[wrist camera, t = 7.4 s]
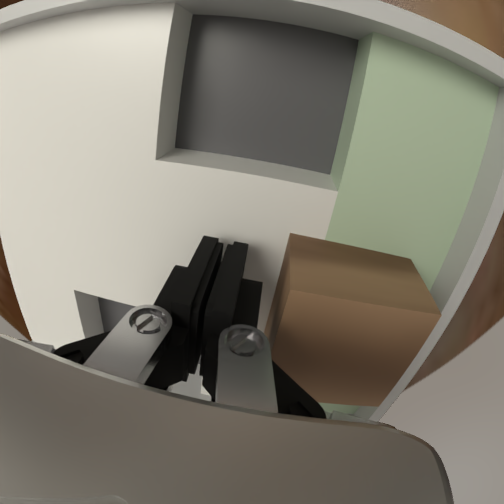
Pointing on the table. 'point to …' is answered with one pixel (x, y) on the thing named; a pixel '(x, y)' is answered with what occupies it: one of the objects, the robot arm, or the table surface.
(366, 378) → the walnut block
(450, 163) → the box
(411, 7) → the table surface
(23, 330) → the table surface
